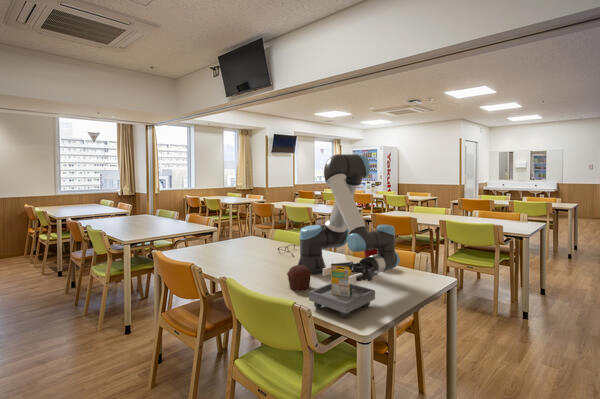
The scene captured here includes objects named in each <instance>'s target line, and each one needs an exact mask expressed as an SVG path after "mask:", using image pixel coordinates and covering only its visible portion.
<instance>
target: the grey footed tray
mask: <svg viewBox="0 0 600 399" xmlns="http://www.w3.org/2000/svg"><path fill="white" fill-rule="evenodd" d="M375 299H376V290H375V289H371V288H368V287H364V286H360V285H357V284H355V283H353V284H352V295H351V296H350V297H347V296H340V295H332V282H331V283H328V284H325V285H322V286H320V287H317V288H314V289H312V290H310V291H308V301H310V302H312V303H313V306H314V308H316V309H321V308H322V307H323V306H324V307H326V308H330V309H333V310H334V311H338V312H340V317H341V318H344V319H348V318H349V316H350V312H352V311H354V310H356V309H358V308H360V307H363V308H369V307H370V305H371V304H370V303H371V302H373V301H375ZM320 307H321V308H320ZM347 317H348V318H347Z"/></svg>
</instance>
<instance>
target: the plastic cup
mask: <svg viewBox="0 0 600 399" xmlns="http://www.w3.org/2000/svg"><path fill="white" fill-rule="evenodd" d="M363 253H364V258H366V257H369V256H372V255H376V254H377V249H371V250H366V251H363Z"/></svg>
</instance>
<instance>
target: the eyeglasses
mask: <svg viewBox="0 0 600 399" xmlns="http://www.w3.org/2000/svg"><path fill="white" fill-rule="evenodd" d="M290 246H291V244H289V245H287V246H284V248H285V249H283V251H284V252H288V253H289V254H291V256H292V257H293V258H295V255H294V254H293V253H292V252H290V251H289V247H290ZM292 246H293V249H292V250H293V251H294V250H295V248H296V246H299V247H300V244H299V245H298V244H292ZM280 248H282V246H280V247H278V248H277V250H278V253H281V252H280V250H281V251H282V249H280ZM287 250H288V251H287Z"/></svg>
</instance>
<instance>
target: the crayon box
mask: <svg viewBox="0 0 600 399" xmlns="http://www.w3.org/2000/svg"><path fill="white" fill-rule="evenodd" d="M330 267H331V269H332V270H331V274H330V275H331V276H330V277H331V283H332V295H340V296H347V297H350V296H351V295H352V284H348V277H349V276H352V272H351V270H349V267H345V266H334V265H331V264H330ZM337 267H338V268H339V267H341V268H344V269H337Z"/></svg>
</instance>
